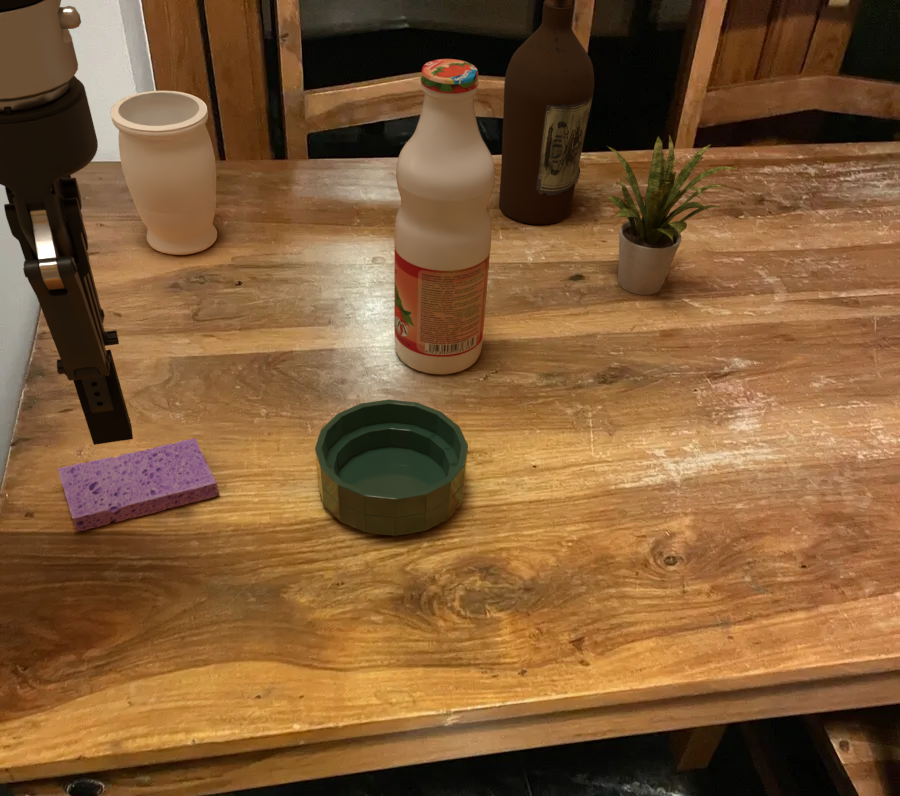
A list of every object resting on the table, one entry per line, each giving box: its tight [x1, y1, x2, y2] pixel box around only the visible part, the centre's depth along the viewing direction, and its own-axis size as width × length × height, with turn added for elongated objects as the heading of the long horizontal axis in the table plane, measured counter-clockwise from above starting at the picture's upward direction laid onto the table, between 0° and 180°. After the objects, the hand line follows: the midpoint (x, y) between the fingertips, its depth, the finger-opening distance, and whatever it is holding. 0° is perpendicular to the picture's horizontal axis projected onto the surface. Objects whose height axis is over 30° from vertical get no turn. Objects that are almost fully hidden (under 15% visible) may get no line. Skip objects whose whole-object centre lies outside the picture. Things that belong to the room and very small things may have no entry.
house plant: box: [605, 134, 741, 296], centre depth 104 cm, size 14×14×16 cm
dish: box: [314, 399, 469, 537], centre depth 84 cm, size 13×13×5 cm
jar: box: [110, 90, 218, 256], centre depth 107 cm, size 11×10×15 cm
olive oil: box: [498, 0, 595, 226], centre depth 113 cm, size 11×11×25 cm
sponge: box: [57, 437, 221, 532], centre depth 83 cm, size 7×13×2 cm, turn 114°
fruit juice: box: [393, 58, 496, 375], centre depth 90 cm, size 9×9×28 cm
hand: (112, 435), depth 67 cm, fingers closed
